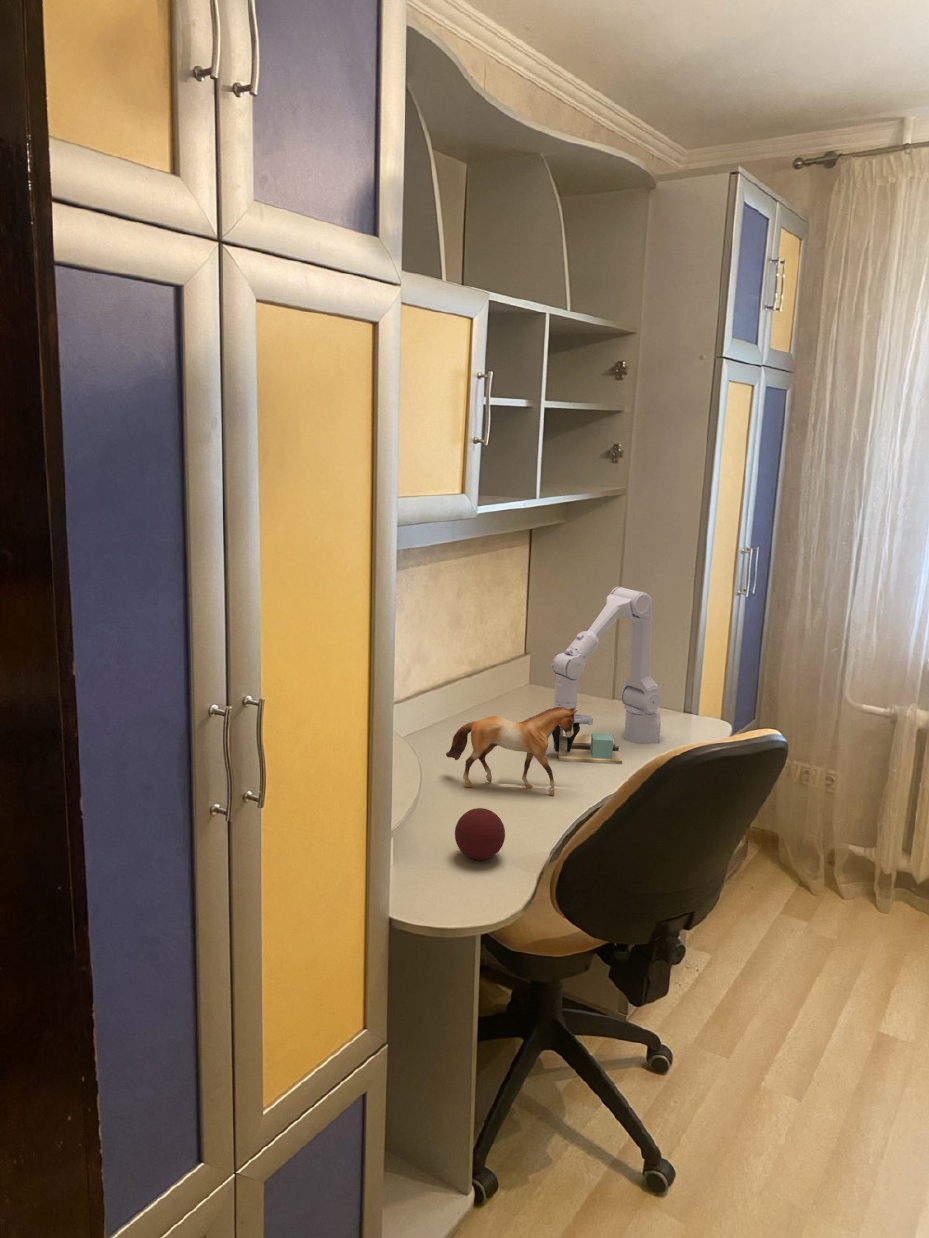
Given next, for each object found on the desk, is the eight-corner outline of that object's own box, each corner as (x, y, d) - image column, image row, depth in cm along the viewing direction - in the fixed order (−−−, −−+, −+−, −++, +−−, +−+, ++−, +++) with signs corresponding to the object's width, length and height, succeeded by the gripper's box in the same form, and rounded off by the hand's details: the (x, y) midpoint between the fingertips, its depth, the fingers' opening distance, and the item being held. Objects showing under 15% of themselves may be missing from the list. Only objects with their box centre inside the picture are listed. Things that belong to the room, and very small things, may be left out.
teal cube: (609, 752, 239) (610, 733, 238) (611, 759, 234) (613, 740, 233) (590, 751, 239) (591, 733, 238) (592, 758, 235) (593, 739, 234)
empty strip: (612, 738, 252) (613, 721, 251) (615, 747, 245) (616, 730, 244) (553, 735, 253) (554, 719, 252) (555, 744, 246) (556, 727, 245)
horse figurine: (573, 788, 219) (578, 706, 215) (570, 801, 212) (575, 716, 207) (446, 774, 225) (448, 693, 221) (438, 786, 218) (441, 703, 213)
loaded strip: (618, 754, 240) (619, 736, 239) (621, 763, 234) (623, 746, 233) (557, 751, 241) (558, 733, 240) (558, 760, 234) (559, 743, 233)
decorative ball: (497, 872, 177) (499, 824, 175) (447, 864, 180) (449, 816, 177) (509, 850, 186) (511, 804, 184) (461, 842, 189) (463, 797, 187)
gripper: (589, 695, 239) (586, 745, 242) (534, 695, 237) (532, 745, 240) (596, 704, 232) (592, 754, 235) (539, 703, 231) (536, 754, 233)
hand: (562, 750), depth 237 cm, fingers closed on loaded strip, 2 cm apart
